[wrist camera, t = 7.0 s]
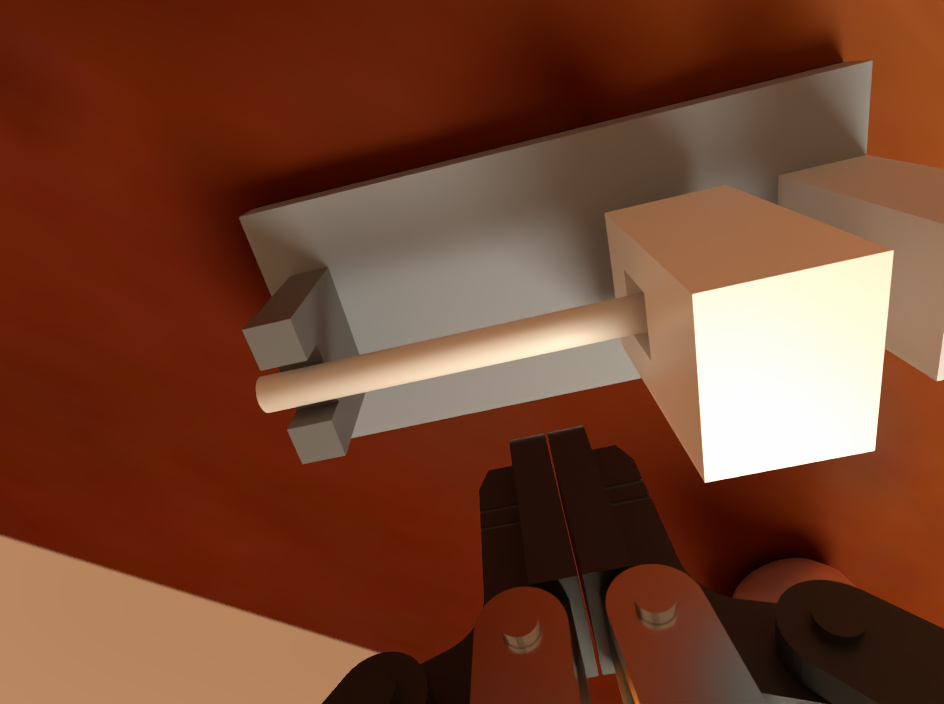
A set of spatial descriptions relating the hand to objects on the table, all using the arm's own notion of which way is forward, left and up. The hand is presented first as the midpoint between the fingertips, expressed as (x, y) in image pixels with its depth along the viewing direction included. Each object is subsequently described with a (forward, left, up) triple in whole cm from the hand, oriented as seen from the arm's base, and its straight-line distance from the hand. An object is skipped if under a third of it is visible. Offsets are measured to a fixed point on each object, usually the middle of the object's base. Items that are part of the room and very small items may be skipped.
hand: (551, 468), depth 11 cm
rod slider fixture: (0, +2, -13) cm, 13 cm away
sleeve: (0, +6, -10) cm, 11 cm away
